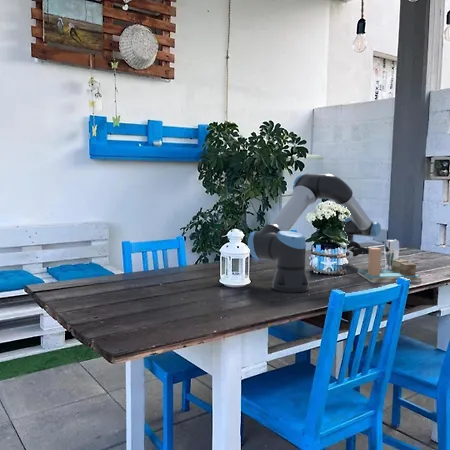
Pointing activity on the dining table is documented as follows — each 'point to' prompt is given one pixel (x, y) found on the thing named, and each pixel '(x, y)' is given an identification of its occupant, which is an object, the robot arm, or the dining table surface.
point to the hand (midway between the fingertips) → (366, 255)
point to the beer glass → (391, 252)
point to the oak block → (397, 264)
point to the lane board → (385, 280)
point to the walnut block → (408, 269)
